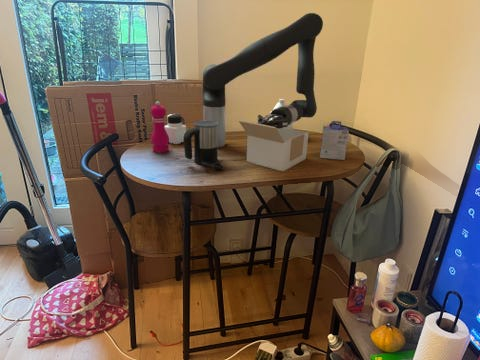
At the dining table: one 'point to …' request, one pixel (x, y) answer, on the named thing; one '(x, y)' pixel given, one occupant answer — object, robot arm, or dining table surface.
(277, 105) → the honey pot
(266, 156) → the carton
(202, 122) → the milk frother
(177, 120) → the medicine bottle
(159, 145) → the pepper mill
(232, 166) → the dining table surface
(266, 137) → the front flap
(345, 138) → the ink cartridge box
